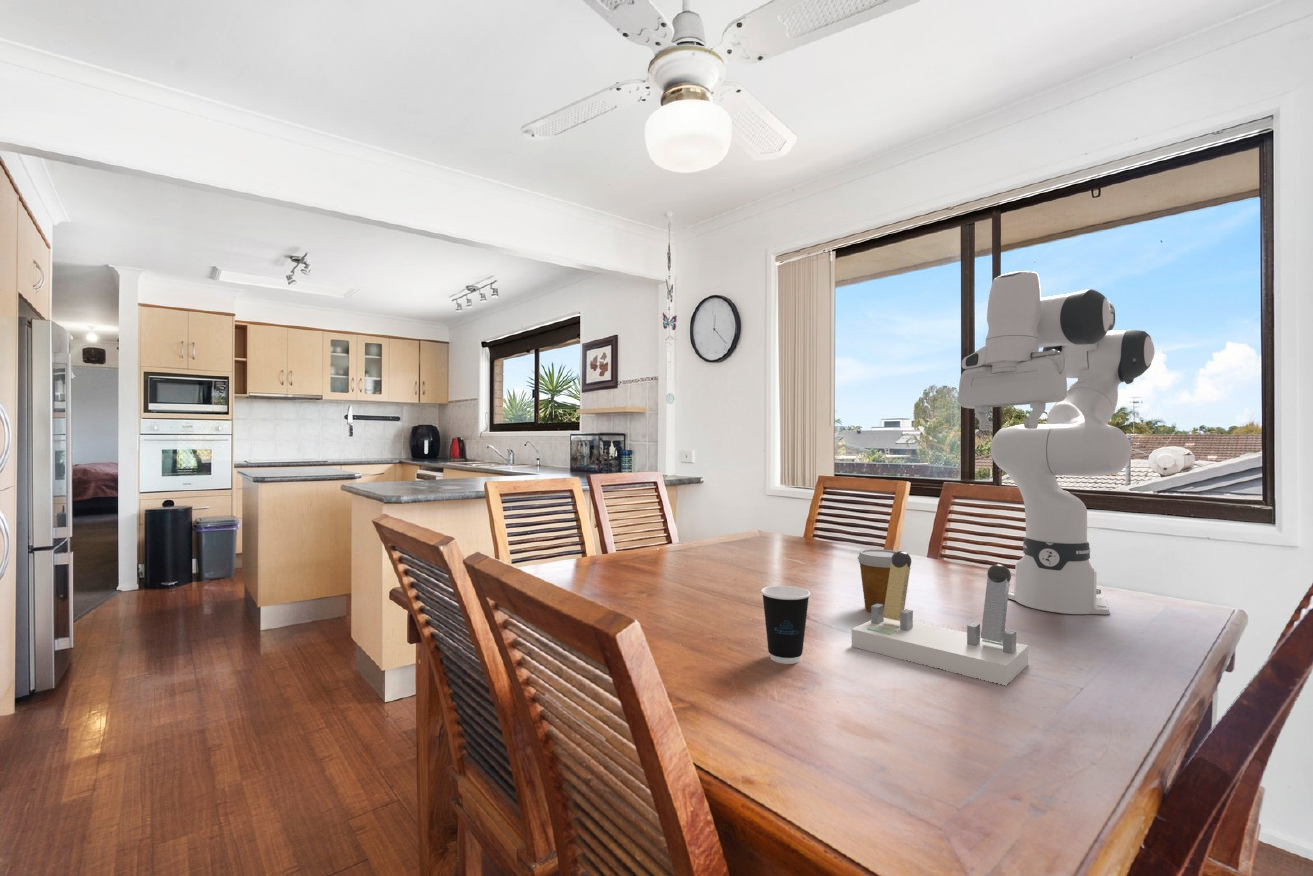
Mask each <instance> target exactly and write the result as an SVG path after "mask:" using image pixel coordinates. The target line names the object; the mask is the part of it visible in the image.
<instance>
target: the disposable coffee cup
mask: <svg viewBox="0 0 1313 876" xmlns="http://www.w3.org/2000/svg"><path fill="white" fill-rule="evenodd" d="M896 552H898V551H896V550H891V549H880V548H879V549H875V548H873V549H872V548H871V549H861V550H859V553H858V556H857V560H858V563H859V568H860V577H861V582H862V584H861V586H862V592H863V600H864V608H865V611H867V612H869V613H871V606H873V605H875V604H882V605H884V606H885V599H886V593H887V586H888V580H889V573H890V566H891V558H892V556H893V554H894V553H896Z"/></svg>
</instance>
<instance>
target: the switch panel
mask: <svg viewBox="0 0 1313 876" xmlns="http://www.w3.org/2000/svg"><path fill="white" fill-rule="evenodd" d="M883 612H884V605H882V604H875V605H873V606H871V612H870V615H871V616H870V620H869V621H866V622H864V623H862V624H860V625H857V626H855V627H853V628H852V629H851V647H852V648H855V649H859V650H865V651H867V652H872V653H875V654H878V655H883V656H887V657H891V658H896V659H899V660H902V659H904V660H903V661H906V660H908V662H910V661H911V662H910V663H914V662H915V664H919V665H922V664H925V665H924V666H926V665H928V666H927V667H931V668H933V667H934V668H933V669H937V668H940V669H939V670H941V669H943V670H942V671H945V670H946V672H949V673H955V674H957V673H959V674H958V675H961V674H962V675H961V676H964V677H965V676H966V677H968V678H972V679H973V678H974V679H976V678H979V679H978V680H980V679H981V680H980V681H984V680H985V681H984V682H988V681H989V682H988V683H992V682H994V683H993V684H996V683H998V684H997V685H1000V684H1002V685H1001V686H1004V685H1005V687H1007V686H1008V685H1009V684H1010V683H1011V682H1012V681H1013V680H1014V679H1016V678H1017V676H1019V674H1020V673H1021V672H1023V670H1024V669H1025V668H1026V667H1027V666H1028V665H1029V645H1027V644H1022V643H1018V642H1017V630H1013V629H1006V630H1005V632H1003V643H999V642H994V641H989V640H984V639H982V638H981V624H980V623H978V622H977V623H976V622H971V623H969V624H967V626H966V632H965V631H960V630H957V629H953V628H952V629H950V628H947V627H946V628H945V627H941V626H938V625H933V624H927V623H924V622H923V623H922V622H918V621H914V618H913V617H914V610H912V609H909V608H908V609H905V608H904V610H903V611H901V612H900V621H895V620H891V619H886V618H884V617H883ZM1009 682H1010V683H1009ZM1008 683H1009V684H1008ZM1007 684H1008V685H1007Z"/></svg>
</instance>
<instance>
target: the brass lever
mask: <svg viewBox="0 0 1313 876" xmlns="http://www.w3.org/2000/svg"><path fill="white" fill-rule="evenodd" d="M911 565H912V558H911V556H910V554H909V553H907V552H906V551H903V550H902V551H901V550H899V551H897V552H896V553H894V554H893V556H892V558H891V566H890V573H889V580H888V586H887V593H886V599H885V606H884V612H883V617H884V618H886V619H891V620H895V621H900V612H901V611H903V610H905V607H906V599H907V592H908V585H909V579H910V571H911Z"/></svg>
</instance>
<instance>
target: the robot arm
mask: <svg viewBox="0 0 1313 876" xmlns="http://www.w3.org/2000/svg"><path fill="white" fill-rule="evenodd" d="M1039 276H1040V275H1039V274H1038V272H1035V271H1033V270H1032V271H1031V270H1022V271H1012V272H1007V273H1003V274H999V275H997V277H995V278H994V279H993V280H992V283H991V286H990V290H989V294H988V301H987V308H986V309H987V312H986V323H987V326H988V329H987V330H988V332H987V335H986V337H985V343H984V344H985V345H984V346H982V347H980V348H979V349H978V350H976V351H974V352H973V353H971V354H969V355H967V356H965V357H963V359H962V360H961V367H962V369H965V370H963V372H962V373H961V375H960V378H959V382H958V383H959V385H958V396H957V397H958V398H957V399H958V403H959V405H960V406H961V408H965V409H974V414H975V416H976V418H977V420H978V421H979V424H978V425H979V426H978V429H979V430H980V431H992V430H993V422H994V421H990V420H989V418H988V415H987V414H988V413H989V409H990V408H995V407H996V408H999V407H1009V406H1010V407H1011V406H1012V407H1013V406H1023V405H1024V406H1025V405H1029V408H1030V409H1032V410H1031V412H1030V413H1029V416H1028V417H1027V418H1023V422H1024V423H1023V424H1017V425H1013V426H1012V425H1011V426H1008V427H1002V428H1000V429H999V430H998V431H997V432H996V433H995V434H994V436H993V438H992V440H991V443H990V454H991V455H990V456H991V458H992V460H993V463H995V465H996V466H997V467H998V468H999V469H1001V470H1002V471H1003V472H1004V473H1006V474H1007V475H1008V476H1009V477H1010V479H1012V481H1013V482H1014V484H1015V485H1016V486H1017V488H1018V490H1019V492H1020V494H1021V497H1022V500H1023V507H1024V515H1025V516H1024V517H1025V537H1023V541H1022V548H1023V549H1022V550H1023V551H1022V552H1023V553H1022V554H1024V555H1023V557H1022V558H1020V559H1019V560H1017V561H1016V562H1015V569H1014V570H1015V571H1014V588H1013V590H1012V591H1009V594H1008V600H1013V601H1016V602H1017V603H1019V604H1020V605H1023V606H1025V607H1028V608H1031V609H1035V610H1041V611H1046V612H1052V613H1059V614H1070V615H1093V614H1094V615H1110V608H1109V603H1108V601H1107V597H1106V595H1104V594H1101V593H1102V592H1101V591H1102V590H1101V588H1099V587H1097V571H1095V569H1094V568H1093V566H1092V565H1091V563H1090V560H1089V559H1091V548H1090V543H1089V542H1088V509H1087V506H1086V505H1085V503H1084V502H1083V501H1082V500H1081V499H1080V498H1079V497H1077V496H1076V495H1074V494H1072V493H1070V492H1068V491H1066V490H1064V489H1063V488H1062V487H1061V486H1060V485H1059V483H1058V480H1057V476H1065V477H1066V476H1071V477H1090V478H1092V477H1102V476H1107V475H1108V476H1110V475H1115V474H1119V473H1120V472H1121V471H1123V469H1124V468H1126V466H1127V465H1128V464H1129V462H1130V459H1131V457H1132V447H1131V446H1132V445H1131V442H1130V440H1129V438H1128V436H1127V435H1126V434H1125V432H1124V431H1123V430H1122V429H1120V428H1119V427H1116V426H1113V425H1110V424H1109V422H1110V421H1111V419H1112V417H1113V415H1114V414H1115V412H1116V407H1117V404H1118V399H1119V391H1118V389H1119V385H1120V384H1121V383H1125V384H1126V385H1130V384H1132V383H1133V382H1134V380H1135V379H1136V378H1138V377H1140V376H1141V375H1143V374H1144V373H1145V372H1146V371H1147V370H1148V369H1149V368H1150V367H1151V365H1152V361H1153V359H1154V356H1155V344H1154V343H1153V340H1152V337H1151V335H1150V334H1148V333H1147V332H1146V331H1145V330H1141V329H1126V330H1113V328H1115V324H1116V310H1115V307H1114V305H1113V303H1112V302H1111V301H1109V300H1108V298H1107V297H1106V296H1105V295H1104V294H1103V293H1101V292H1099V291H1098V290H1095V289H1093V288H1090V289H1085V290H1080V291H1075V292H1072V293H1066V294H1059V295H1053V296H1052V295H1051V296H1047V297H1045V296H1044V297H1041V296H1042V295H1041V283H1040V277H1039ZM1040 348H1042V351H1040ZM1067 379H1077V381H1076V382H1074V383H1072V384H1071V385H1070V386H1069V387H1068V382H1067ZM1052 403H1054V405H1053V406H1052V407H1051V409H1050V410H1049V412H1048V414H1047V418H1046V423H1039V419H1040V418H1041V417H1042V415H1043V413H1044V412H1045V411H1046V405H1047V404H1052Z"/></svg>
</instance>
